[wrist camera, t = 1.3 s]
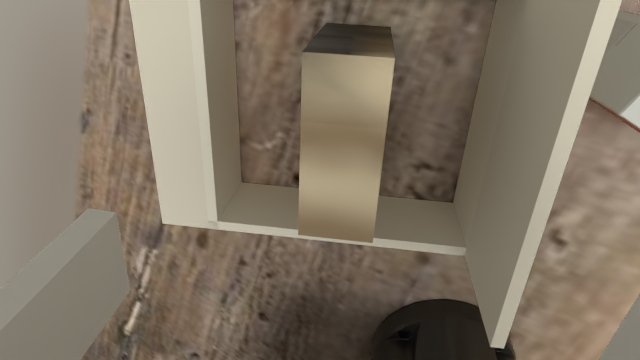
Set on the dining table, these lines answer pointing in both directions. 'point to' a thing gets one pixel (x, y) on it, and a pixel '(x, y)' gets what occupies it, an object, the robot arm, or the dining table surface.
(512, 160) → the carton
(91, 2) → the dining table surface
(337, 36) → the box
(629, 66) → the small box
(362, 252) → the dining table surface
